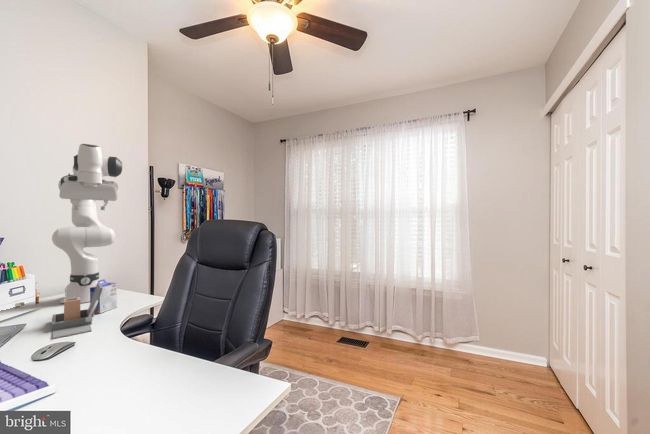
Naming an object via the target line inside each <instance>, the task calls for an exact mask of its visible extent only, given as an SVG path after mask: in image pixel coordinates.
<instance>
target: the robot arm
mask: <svg viewBox="0 0 650 434" xmlns="http://www.w3.org/2000/svg"><path fill="white" fill-rule="evenodd" d="M77 151H78V152H77V154H75V155H74V156H73V166H72V172H73V174H71V173H68V174H67V175H64V176H63V177H61V178H60V180H59V181H58V183H57V184H58V186H57V187H58V189H59V199H62V200H64V199H65V200H70V203H71V205H72V206H71V222H72V224H73V226H69V227H63V228H57V229H56V230H55V231H54V232H53V233H52V235H51V241H52V243H53V245H54V246H55V247H57V248H59V249H60V250H62V251H63V252H64V253H65V254H66V255H67V257H68V258H69V261H70V275H69V283H68V284H67V285H65V288H64V293H65V294H64V297H63V298H62V299H61V300H60V304H64V299H68V298H70V297H80V304H83V303H84V304H85V303H89V302H90V288H91V287H94V286H97V283H98V281H99V280H100V272H99V258H98V256H95V254H91V253H90V252H89V253H88V252H87V251H84V249H85V248H102V247H106V246H111V245H112V244H113V243H114V242H115V240H116V237H117V236H116V233H115V231H114V229H112V228H111V227H109V226H106V225H104V224H103V223H102V222H101V221H100V220H99V217H98V210H97V209H98V208H97V205H96V204H97V203H96V201H103V203H104V204H103V205H102V206H100V211H105V210H106V206H107V205H108V203H109V201H110V202H115V201H117V200H118V192H117V191H118V190H119V185H118V183H117V182H115V181H112V180H111V181H110V180H109V181H108V180H106V179H103V178H104V177H111V178H117V177H119V176H120V175H121V174H122V172H123V162H122V161H121V159H120V158H118V157H117V156H107V155H106V156H105V155H103V152H102V151H103V150H102V147H101V146H99V145H95V144H89V143H81V144H79V146H78V150H77ZM100 283H103V281H101V282H100Z"/></svg>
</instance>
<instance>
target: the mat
mask: <svg viewBox="0 0 650 434" xmlns="http://www.w3.org/2000/svg"><path fill="white" fill-rule="evenodd" d="M91 325H92V324H91ZM91 325H90V324H89V325H83V326H78V327H73V328H68V329H62V330H57V331H53V332H52V340H55V339H60V338H66V337H71V336H75V335H79V334H86V333H90V332H92V326H91Z"/></svg>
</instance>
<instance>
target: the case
mask: <svg viewBox="0 0 650 434" xmlns="http://www.w3.org/2000/svg"><path fill="white" fill-rule="evenodd" d="M102 289H103V288H102V286H101V284H100V282H98V283H97V286H96V289H95V291H94V294H93V297H92V300H91V303H89V306H88V309H87V308H86V309H80V319H75V320H69V321H64V312H61V313H56V314H52V316H51V317H52V321H51V333H53V331H57V330H62V329H68V328H73V327H78V326H83V325H89V324H90V325H93V324H92V323H93V318H94V316H95V314H96V313H95V310H96V307H97V304H98V301H99V298H100V295H101V292H102Z"/></svg>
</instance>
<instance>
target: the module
mask: <svg viewBox="0 0 650 434" xmlns="http://www.w3.org/2000/svg"><path fill="white" fill-rule="evenodd" d="M80 310H81V303H80V297H70V298H68V299H64V303H63V313H64V321H69V320H75V319H81V318H80Z"/></svg>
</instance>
